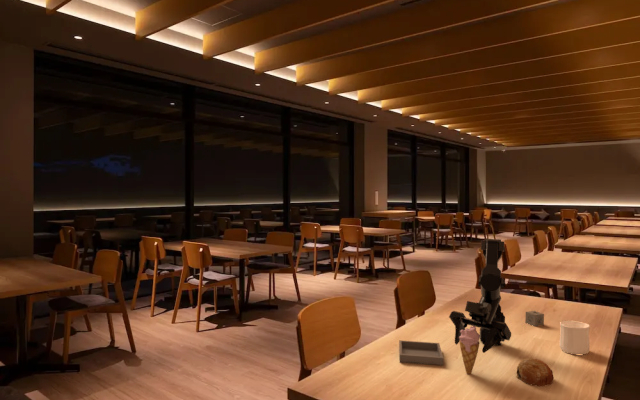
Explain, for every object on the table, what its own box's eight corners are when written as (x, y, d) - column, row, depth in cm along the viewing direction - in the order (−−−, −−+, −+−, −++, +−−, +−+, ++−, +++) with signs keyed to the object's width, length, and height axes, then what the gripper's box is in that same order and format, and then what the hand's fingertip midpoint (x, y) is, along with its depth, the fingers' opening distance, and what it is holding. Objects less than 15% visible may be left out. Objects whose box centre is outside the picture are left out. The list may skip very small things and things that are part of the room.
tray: (438, 350, 154) (439, 343, 154) (443, 365, 140) (443, 358, 140) (399, 347, 156) (399, 340, 156) (399, 362, 142) (399, 354, 142)
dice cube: (543, 325, 184) (543, 313, 184) (534, 326, 182) (535, 315, 182) (534, 322, 189) (534, 310, 189) (525, 323, 187) (525, 311, 187)
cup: (586, 347, 158) (586, 321, 158) (593, 357, 148) (594, 329, 148) (556, 344, 161) (557, 318, 161) (562, 354, 151) (562, 326, 151)
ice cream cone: (480, 379, 130) (481, 330, 130) (459, 377, 131) (460, 328, 131) (477, 370, 137) (478, 323, 136) (456, 368, 138) (457, 322, 137)
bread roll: (515, 384, 136) (505, 361, 135) (543, 369, 136) (533, 347, 136) (533, 399, 126) (522, 375, 125) (564, 383, 126) (553, 359, 126)
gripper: (452, 286, 144) (433, 325, 137) (507, 297, 130) (489, 341, 123) (464, 306, 149) (446, 345, 142) (518, 318, 135) (501, 362, 128)
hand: (469, 347), depth 134 cm, fingers open, 9 cm apart
